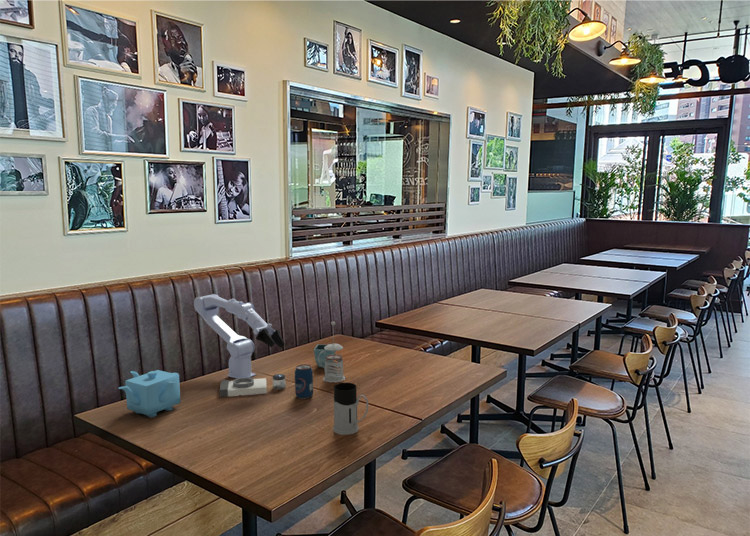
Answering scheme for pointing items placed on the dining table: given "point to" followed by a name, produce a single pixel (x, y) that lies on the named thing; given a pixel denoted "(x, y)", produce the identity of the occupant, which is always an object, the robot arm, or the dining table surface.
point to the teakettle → (152, 392)
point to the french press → (333, 374)
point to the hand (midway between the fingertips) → (278, 345)
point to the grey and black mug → (346, 408)
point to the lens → (278, 381)
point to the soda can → (303, 381)
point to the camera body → (243, 387)
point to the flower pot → (322, 354)
